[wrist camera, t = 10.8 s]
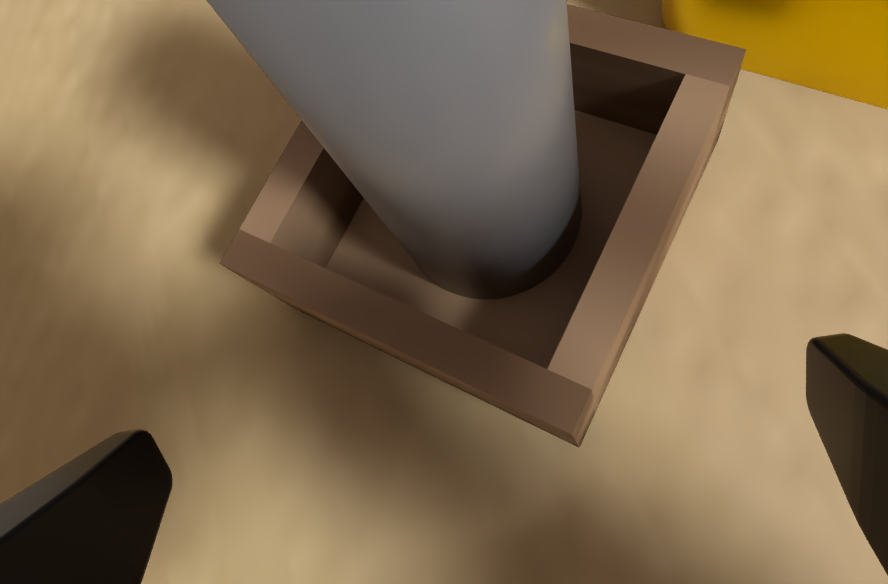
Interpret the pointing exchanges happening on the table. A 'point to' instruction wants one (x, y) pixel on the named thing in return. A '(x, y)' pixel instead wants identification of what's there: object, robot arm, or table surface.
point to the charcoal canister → (438, 123)
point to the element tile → (798, 40)
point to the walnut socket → (567, 289)
